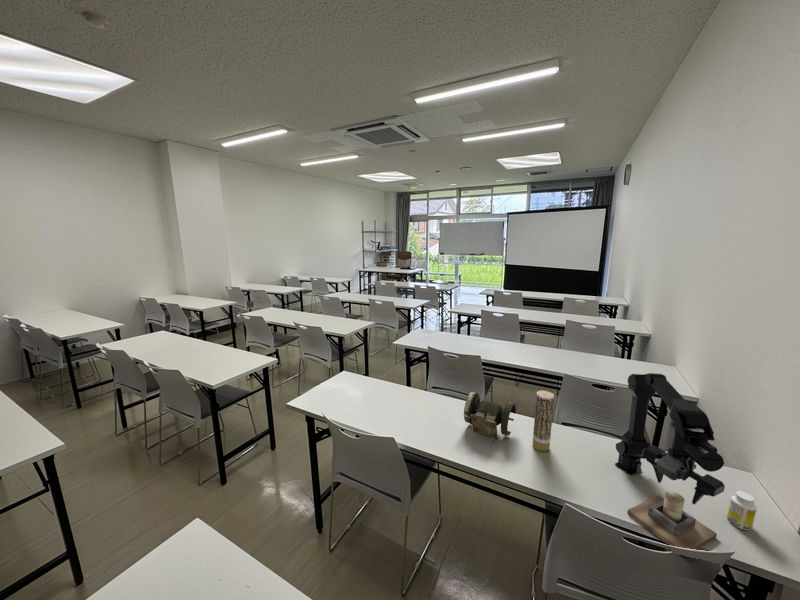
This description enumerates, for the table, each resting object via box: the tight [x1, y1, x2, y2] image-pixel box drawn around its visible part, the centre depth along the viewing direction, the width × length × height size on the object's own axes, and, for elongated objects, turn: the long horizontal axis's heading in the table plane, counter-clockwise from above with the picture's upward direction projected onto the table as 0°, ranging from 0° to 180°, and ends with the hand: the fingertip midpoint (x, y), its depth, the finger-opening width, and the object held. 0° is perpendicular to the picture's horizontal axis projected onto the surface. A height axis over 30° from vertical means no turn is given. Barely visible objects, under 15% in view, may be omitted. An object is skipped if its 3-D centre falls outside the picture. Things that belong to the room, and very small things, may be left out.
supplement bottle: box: [726, 490, 757, 531], centre depth 101 cm, size 6×6×10 cm
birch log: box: [532, 390, 555, 452], centre depth 137 cm, size 7×7×25 cm
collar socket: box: [627, 494, 718, 550], centre depth 101 cm, size 16×16×4 cm
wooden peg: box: [662, 490, 685, 524], centre depth 101 cm, size 4×4×9 cm
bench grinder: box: [463, 391, 517, 443], centre depth 149 cm, size 20×22×20 cm
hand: (676, 492), depth 99 cm, fingers open, 9 cm apart
